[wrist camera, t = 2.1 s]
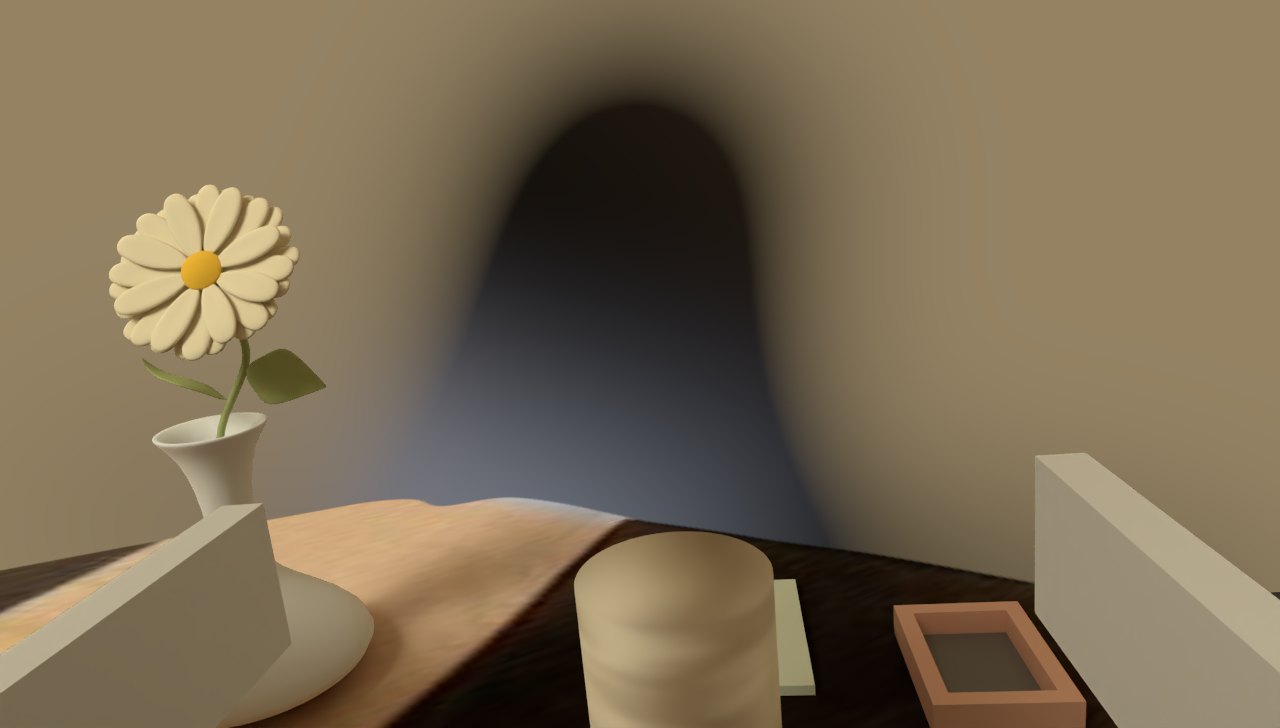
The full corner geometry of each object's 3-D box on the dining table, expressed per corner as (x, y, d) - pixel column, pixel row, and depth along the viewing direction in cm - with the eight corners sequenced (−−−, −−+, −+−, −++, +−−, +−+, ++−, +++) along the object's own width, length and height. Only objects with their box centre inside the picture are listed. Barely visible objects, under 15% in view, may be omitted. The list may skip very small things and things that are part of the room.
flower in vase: (86, 730, 41) (-57, 207, 35) (271, 611, 51) (183, 191, 45) (286, 787, 35) (157, 183, 30) (448, 642, 45) (374, 171, 40)
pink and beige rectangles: (181, 1010, 26) (170, 970, 26) (440, 600, 50) (436, 577, 50) (1275, 1029, 22) (1279, 984, 22) (985, 579, 47) (985, 555, 46)
